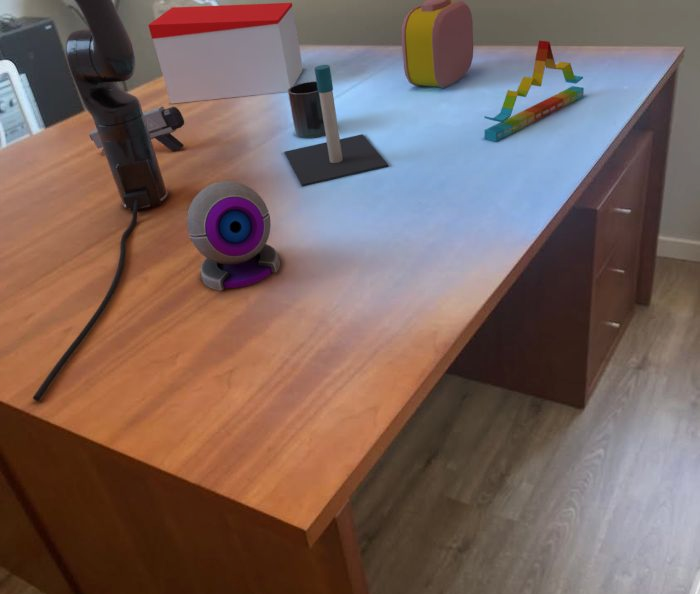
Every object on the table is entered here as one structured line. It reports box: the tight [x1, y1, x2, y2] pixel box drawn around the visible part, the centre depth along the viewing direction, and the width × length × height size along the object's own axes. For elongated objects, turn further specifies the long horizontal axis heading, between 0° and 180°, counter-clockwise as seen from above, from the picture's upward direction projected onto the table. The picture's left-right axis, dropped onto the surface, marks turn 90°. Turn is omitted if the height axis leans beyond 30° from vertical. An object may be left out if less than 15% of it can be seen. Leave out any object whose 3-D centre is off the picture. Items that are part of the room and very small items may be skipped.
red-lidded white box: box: [147, 2, 304, 105], centre depth 202 cm, size 21×35×21 cm, turn 83°
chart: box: [483, 40, 585, 142], centre depth 153 cm, size 30×3×15 cm, turn 131°
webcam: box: [186, 180, 281, 291], centre depth 115 cm, size 13×13×15 cm
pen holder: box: [287, 80, 326, 139], centre depth 166 cm, size 9×9×10 cm
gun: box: [88, 105, 185, 155], centre depth 172 cm, size 2×25×10 cm, turn 77°
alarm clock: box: [400, 0, 474, 89], centre depth 181 cm, size 18×11×19 cm, turn 144°
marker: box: [313, 64, 343, 163], centre depth 146 cm, size 3×3×19 cm
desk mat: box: [284, 133, 389, 187], centre depth 153 cm, size 20×18×1 cm
